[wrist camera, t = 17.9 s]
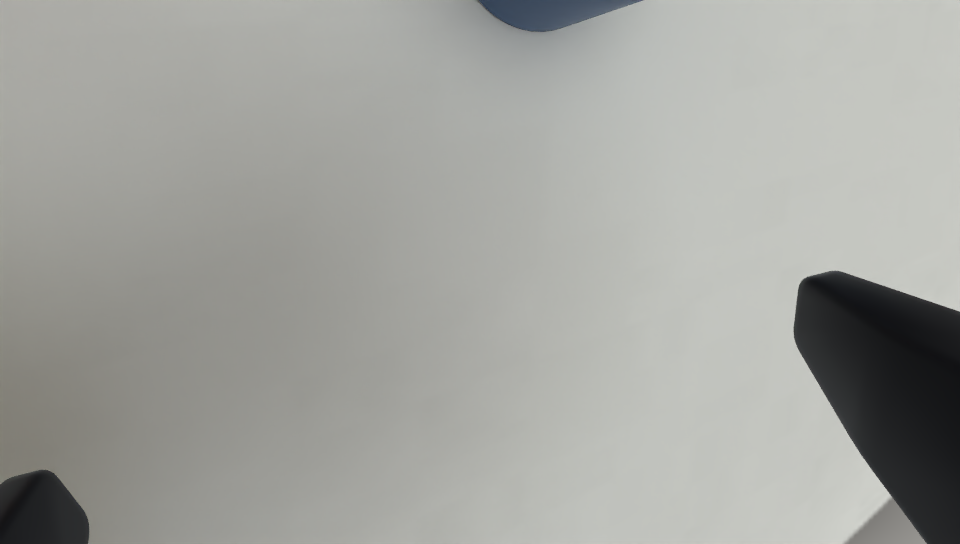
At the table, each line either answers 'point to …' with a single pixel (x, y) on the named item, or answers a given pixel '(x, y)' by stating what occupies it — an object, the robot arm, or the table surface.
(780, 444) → the table surface
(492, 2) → the blue bottle
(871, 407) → the robot arm
